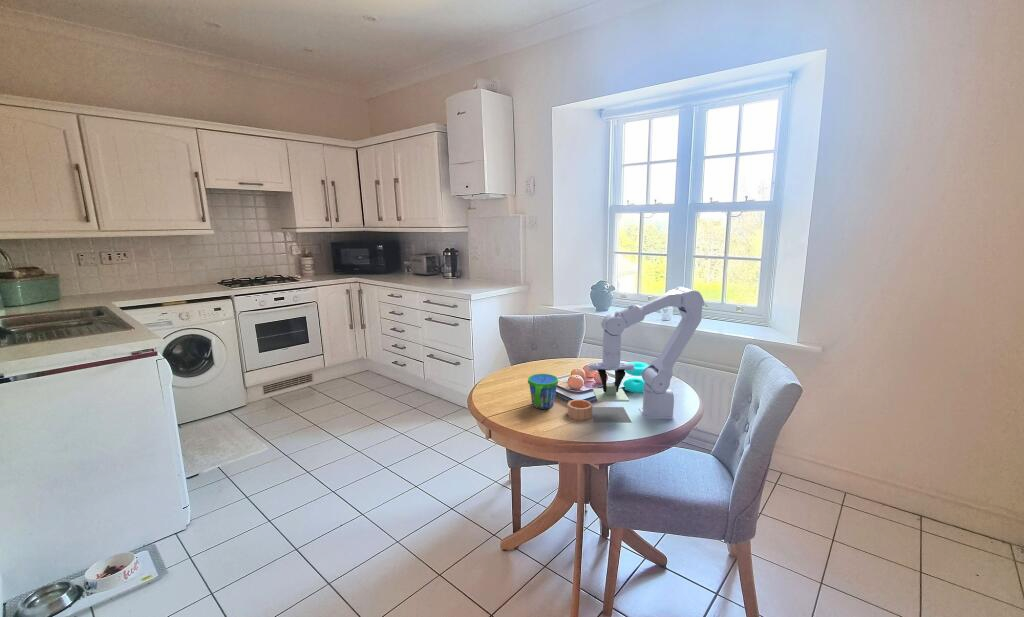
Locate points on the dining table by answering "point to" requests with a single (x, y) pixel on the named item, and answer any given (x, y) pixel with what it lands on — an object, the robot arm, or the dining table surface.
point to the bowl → (579, 409)
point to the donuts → (635, 383)
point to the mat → (610, 414)
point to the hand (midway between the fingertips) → (610, 391)
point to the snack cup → (543, 390)
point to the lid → (610, 394)
